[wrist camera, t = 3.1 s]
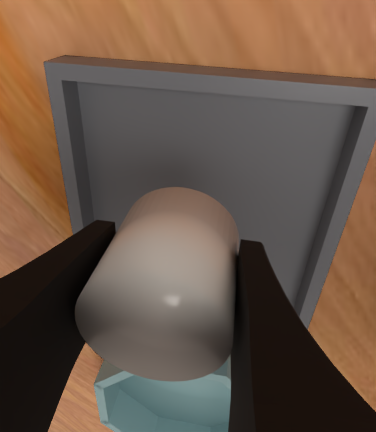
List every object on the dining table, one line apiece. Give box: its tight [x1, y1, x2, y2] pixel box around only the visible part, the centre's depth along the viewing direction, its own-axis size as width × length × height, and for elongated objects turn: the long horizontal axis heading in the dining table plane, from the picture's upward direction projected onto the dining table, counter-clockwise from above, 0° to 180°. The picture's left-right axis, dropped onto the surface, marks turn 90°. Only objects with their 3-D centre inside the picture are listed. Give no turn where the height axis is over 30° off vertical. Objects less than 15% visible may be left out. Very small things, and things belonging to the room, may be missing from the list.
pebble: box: [75, 187, 239, 382], centre depth 10 cm, size 4×4×4 cm
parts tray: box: [44, 55, 376, 329], centre depth 19 cm, size 14×16×2 cm
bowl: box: [94, 353, 231, 432], centre depth 28 cm, size 13×13×4 cm
